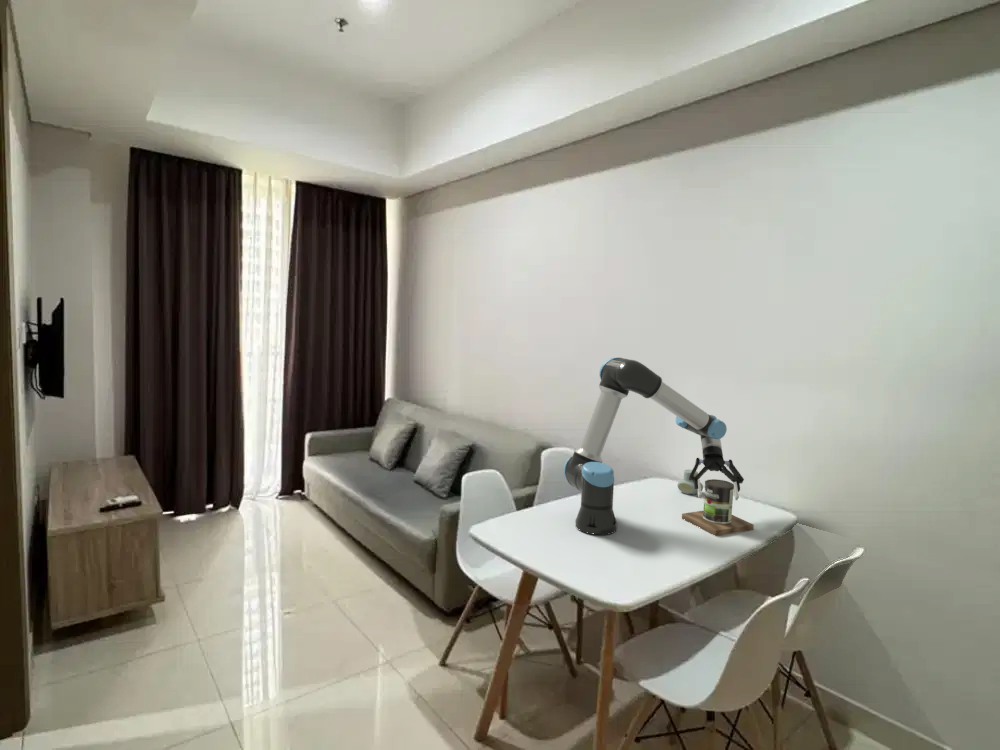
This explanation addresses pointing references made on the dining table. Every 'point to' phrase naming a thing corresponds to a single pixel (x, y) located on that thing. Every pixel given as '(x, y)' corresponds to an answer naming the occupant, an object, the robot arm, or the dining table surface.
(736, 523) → the walnut board
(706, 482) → the coffee can
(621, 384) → the robot arm
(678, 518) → the dining table surface
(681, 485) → the air freshener
